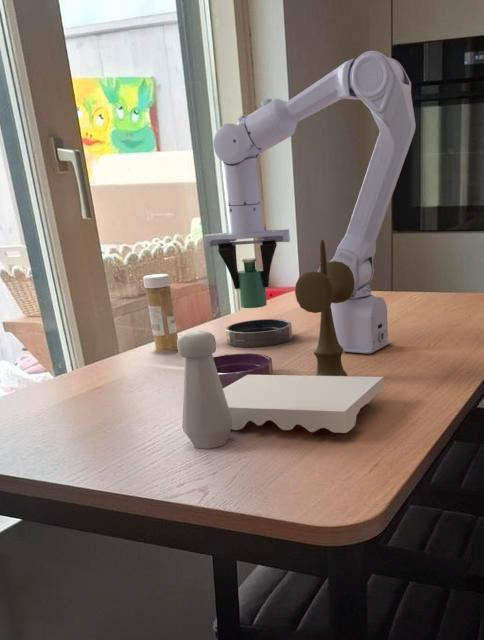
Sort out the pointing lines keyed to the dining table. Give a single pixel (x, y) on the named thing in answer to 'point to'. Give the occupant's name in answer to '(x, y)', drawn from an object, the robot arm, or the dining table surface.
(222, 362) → the bowl plum
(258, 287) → the bottle
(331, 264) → the kendama
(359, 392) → the scalloped display plinth
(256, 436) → the dining table surface
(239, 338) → the bowl charcoal
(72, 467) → the dining table surface
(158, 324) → the sprinkles bottle
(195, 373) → the salt shaker
